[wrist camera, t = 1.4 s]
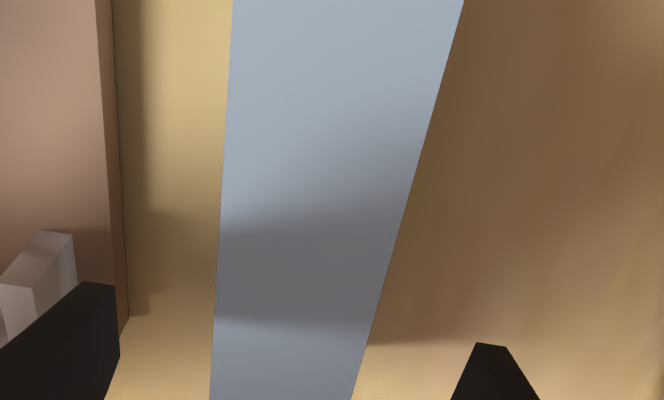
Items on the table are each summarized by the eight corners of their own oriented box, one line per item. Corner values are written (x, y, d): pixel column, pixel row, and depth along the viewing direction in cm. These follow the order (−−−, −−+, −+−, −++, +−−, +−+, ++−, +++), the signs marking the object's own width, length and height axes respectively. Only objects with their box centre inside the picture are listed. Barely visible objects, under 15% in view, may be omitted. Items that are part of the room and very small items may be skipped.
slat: (242, 330, 21) (204, 483, 16) (287, -111, 13) (238, -85, 8) (332, 344, 21) (322, 499, 16) (432, -84, 13) (475, -40, 8)
